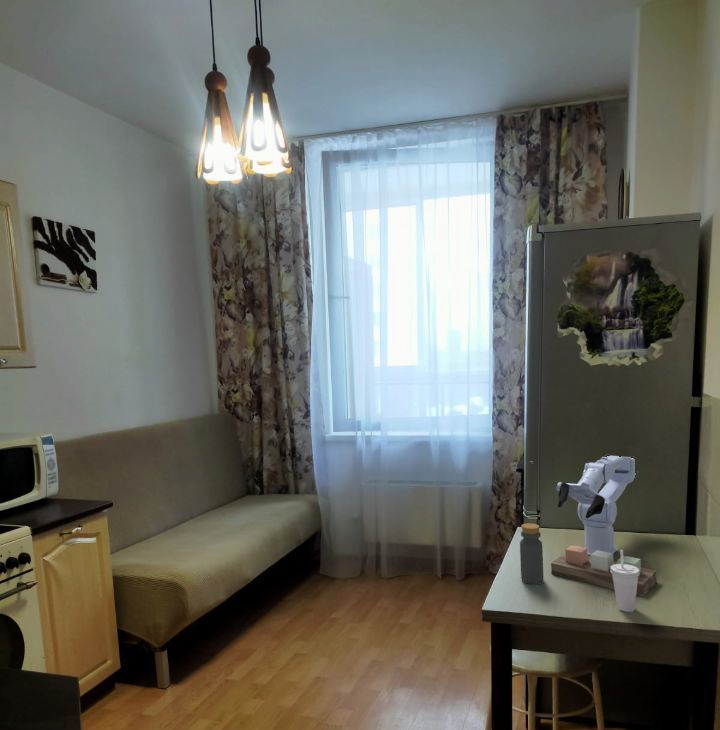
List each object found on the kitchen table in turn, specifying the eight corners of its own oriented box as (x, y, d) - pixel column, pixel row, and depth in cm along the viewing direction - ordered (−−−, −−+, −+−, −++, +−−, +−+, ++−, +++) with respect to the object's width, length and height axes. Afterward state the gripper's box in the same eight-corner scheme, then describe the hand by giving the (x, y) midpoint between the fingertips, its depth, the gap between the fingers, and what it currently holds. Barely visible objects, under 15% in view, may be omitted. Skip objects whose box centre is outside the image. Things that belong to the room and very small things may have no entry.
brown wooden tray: (568, 562, 167) (567, 551, 167) (656, 582, 151) (656, 570, 151) (551, 573, 159) (551, 562, 159) (643, 596, 143) (642, 584, 143)
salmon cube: (572, 558, 163) (571, 545, 163) (587, 562, 160) (587, 548, 160) (565, 563, 160) (565, 549, 160) (581, 567, 157) (581, 552, 156)
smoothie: (615, 600, 141) (613, 544, 141) (643, 606, 137) (642, 549, 137) (608, 610, 136) (606, 551, 136) (637, 617, 132) (635, 557, 132)
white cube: (597, 564, 158) (596, 550, 158) (613, 568, 155) (613, 553, 155) (591, 569, 155) (590, 554, 155) (607, 573, 152) (607, 558, 152)
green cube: (623, 570, 153) (623, 555, 153) (641, 574, 150) (640, 559, 150) (617, 575, 150) (617, 560, 150) (635, 579, 147) (635, 563, 147)
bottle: (533, 586, 151) (531, 530, 151) (516, 579, 156) (514, 525, 156) (548, 581, 154) (546, 526, 154) (530, 574, 159) (529, 521, 159)
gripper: (565, 466, 170) (549, 488, 160) (616, 484, 162) (603, 508, 152) (562, 486, 173) (546, 508, 163) (611, 504, 165) (598, 529, 155)
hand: (573, 509), depth 158 cm, fingers open, 7 cm apart
